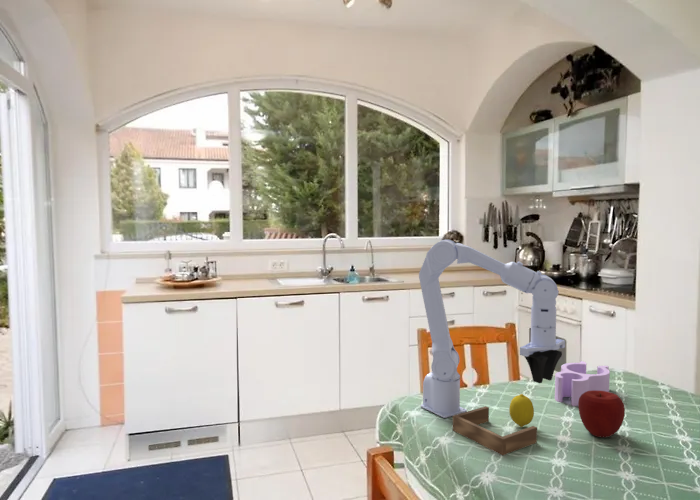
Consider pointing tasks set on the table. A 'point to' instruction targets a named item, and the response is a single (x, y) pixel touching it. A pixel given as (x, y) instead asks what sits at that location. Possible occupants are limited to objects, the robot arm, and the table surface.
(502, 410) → the table surface
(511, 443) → the frame
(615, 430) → the apple
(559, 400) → the clip
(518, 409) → the lemon
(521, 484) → the table surface
